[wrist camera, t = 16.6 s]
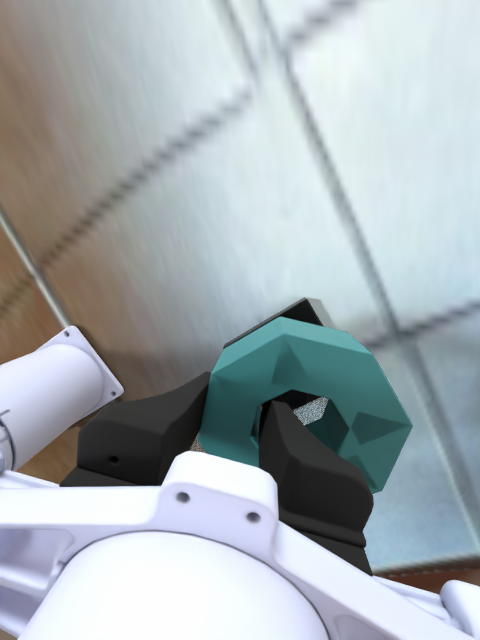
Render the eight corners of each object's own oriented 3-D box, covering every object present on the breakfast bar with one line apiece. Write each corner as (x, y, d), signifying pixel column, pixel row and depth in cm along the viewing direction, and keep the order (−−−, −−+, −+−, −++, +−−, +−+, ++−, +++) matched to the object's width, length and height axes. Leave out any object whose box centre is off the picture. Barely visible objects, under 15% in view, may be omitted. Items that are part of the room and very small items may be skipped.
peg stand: (271, 414, 22) (273, 467, 16) (224, 344, 21) (208, 375, 15) (351, 374, 20) (385, 419, 15) (305, 296, 19) (321, 311, 13)
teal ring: (265, 479, 17) (265, 533, 13) (188, 369, 15) (166, 398, 12) (400, 424, 14) (439, 471, 11) (323, 290, 13) (342, 299, 10)
